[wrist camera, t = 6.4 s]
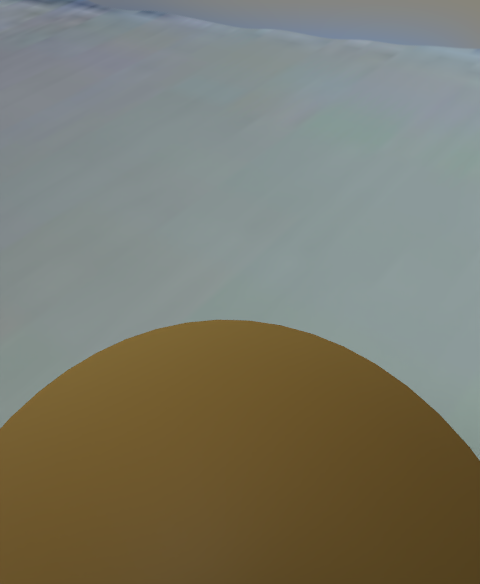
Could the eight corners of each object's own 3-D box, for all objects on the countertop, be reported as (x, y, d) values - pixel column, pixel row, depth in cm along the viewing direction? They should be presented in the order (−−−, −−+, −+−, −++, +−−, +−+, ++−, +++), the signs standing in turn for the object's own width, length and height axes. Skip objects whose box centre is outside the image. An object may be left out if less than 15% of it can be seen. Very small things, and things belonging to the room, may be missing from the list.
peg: (353, 615, 12) (878, 1375, 1) (220, 631, 12) (-328, 1438, 1) (323, 470, 14) (427, 285, 3) (210, 485, 14) (-44, 357, 3)
